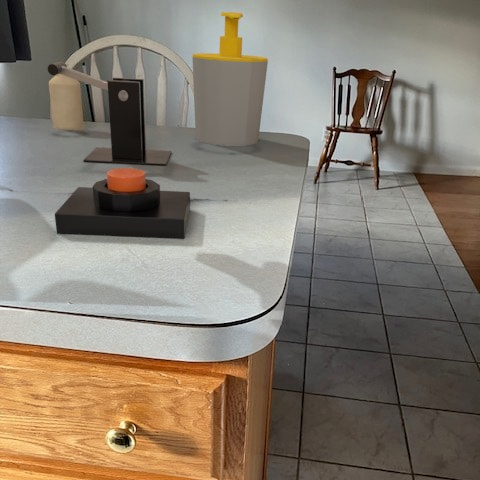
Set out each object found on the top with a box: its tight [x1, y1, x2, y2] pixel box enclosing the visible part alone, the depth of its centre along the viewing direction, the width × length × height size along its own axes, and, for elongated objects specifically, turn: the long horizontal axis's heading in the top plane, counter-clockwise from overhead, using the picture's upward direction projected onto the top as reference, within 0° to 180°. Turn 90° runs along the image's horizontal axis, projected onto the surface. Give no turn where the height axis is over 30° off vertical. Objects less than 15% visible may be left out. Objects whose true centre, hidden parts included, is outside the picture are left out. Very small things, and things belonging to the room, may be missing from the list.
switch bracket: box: [82, 77, 172, 167], centre depth 81 cm, size 12×9×12 cm
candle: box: [48, 74, 85, 131], centre depth 100 cm, size 6×6×10 cm
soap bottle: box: [191, 11, 269, 147], centre depth 95 cm, size 13×13×21 cm
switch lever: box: [47, 61, 108, 92], centre depth 78 cm, size 12×5×2 cm, turn 91°
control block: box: [54, 178, 191, 240], centre depth 59 cm, size 13×10×4 cm
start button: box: [106, 167, 146, 192], centre depth 58 cm, size 4×4×2 cm
